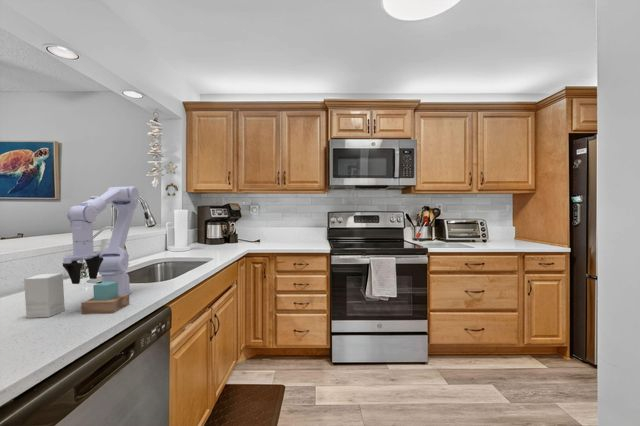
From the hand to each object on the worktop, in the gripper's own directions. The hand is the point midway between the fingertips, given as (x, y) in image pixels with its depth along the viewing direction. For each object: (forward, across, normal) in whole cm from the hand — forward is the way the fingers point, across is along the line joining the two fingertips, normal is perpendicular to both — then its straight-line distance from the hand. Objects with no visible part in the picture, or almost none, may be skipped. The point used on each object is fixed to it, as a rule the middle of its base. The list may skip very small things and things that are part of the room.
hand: (84, 281), depth 118 cm
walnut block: (+10, 0, -8) cm, 12 cm away
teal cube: (+6, 0, -7) cm, 9 cm away
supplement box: (+10, -6, +9) cm, 14 cm away
